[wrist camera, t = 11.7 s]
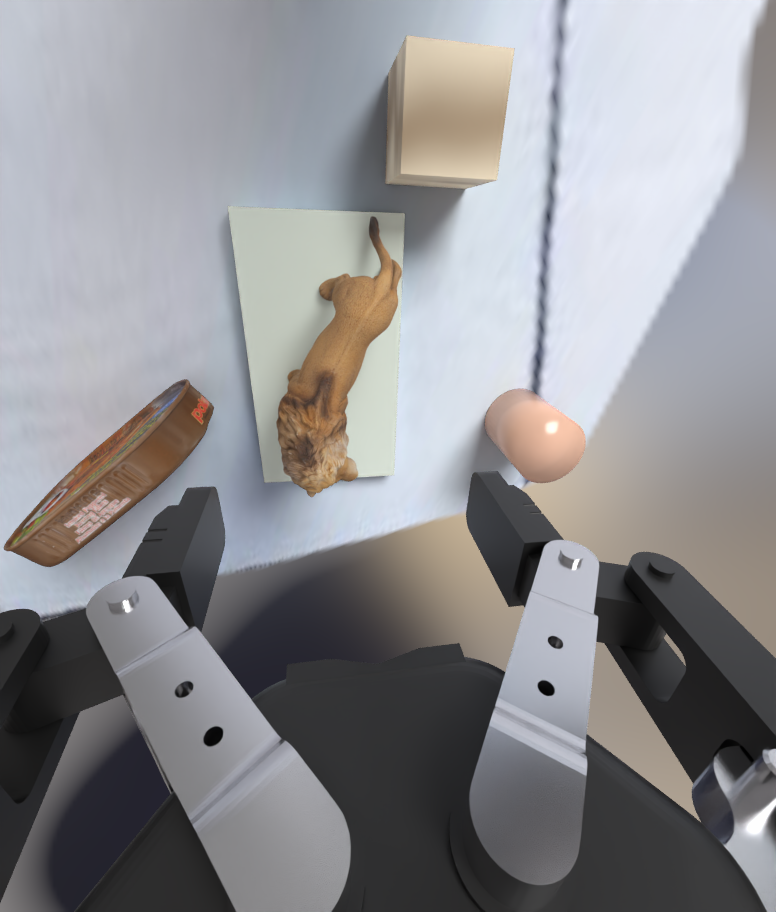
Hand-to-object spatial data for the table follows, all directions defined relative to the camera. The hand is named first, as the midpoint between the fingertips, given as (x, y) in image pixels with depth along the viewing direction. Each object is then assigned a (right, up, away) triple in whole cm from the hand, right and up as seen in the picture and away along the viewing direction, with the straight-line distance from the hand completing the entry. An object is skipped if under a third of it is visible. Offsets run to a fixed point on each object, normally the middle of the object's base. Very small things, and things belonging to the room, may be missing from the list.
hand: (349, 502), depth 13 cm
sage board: (-3, +8, +16) cm, 18 cm away
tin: (-17, +2, +17) cm, 24 cm away
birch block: (+4, +20, +11) cm, 23 cm away
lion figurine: (-2, +9, +15) cm, 17 cm away
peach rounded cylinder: (+12, +5, +21) cm, 24 cm away
